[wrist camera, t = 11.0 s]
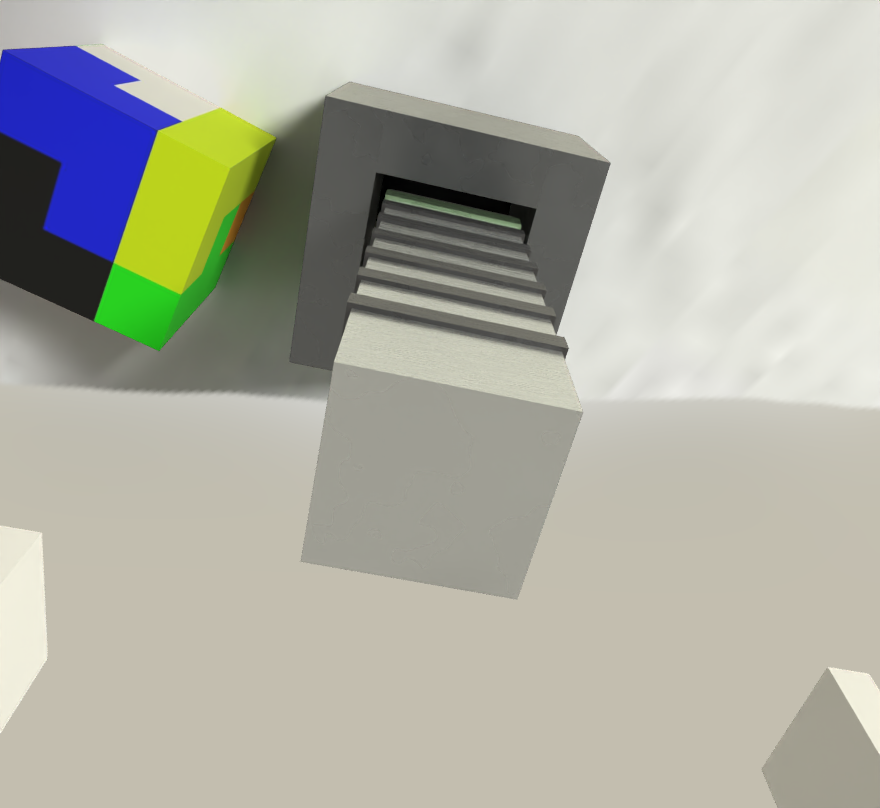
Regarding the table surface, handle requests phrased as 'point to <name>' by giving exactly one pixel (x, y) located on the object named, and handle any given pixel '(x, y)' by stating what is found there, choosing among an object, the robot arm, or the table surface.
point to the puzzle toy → (118, 187)
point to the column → (442, 405)
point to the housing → (440, 164)
